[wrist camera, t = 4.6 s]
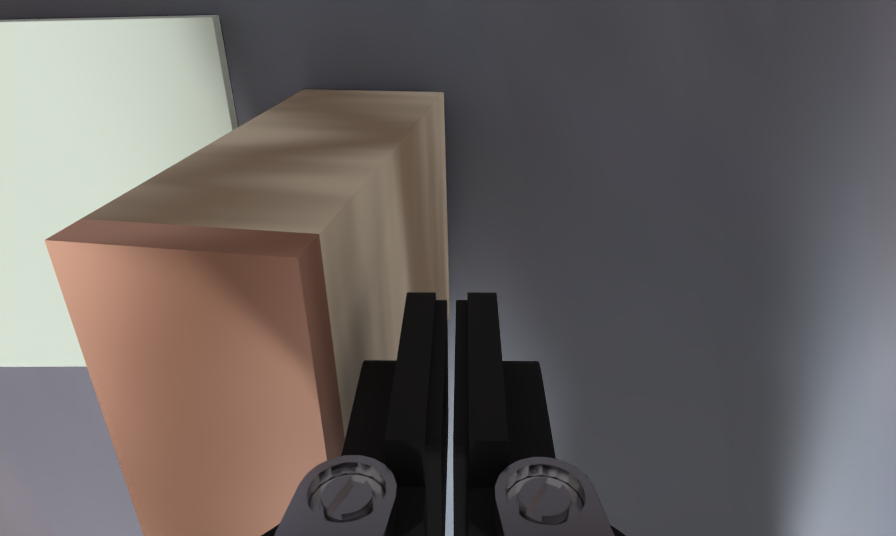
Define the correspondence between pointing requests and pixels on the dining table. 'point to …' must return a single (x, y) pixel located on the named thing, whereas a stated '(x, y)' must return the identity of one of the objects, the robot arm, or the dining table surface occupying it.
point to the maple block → (255, 299)
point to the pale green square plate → (90, 144)
